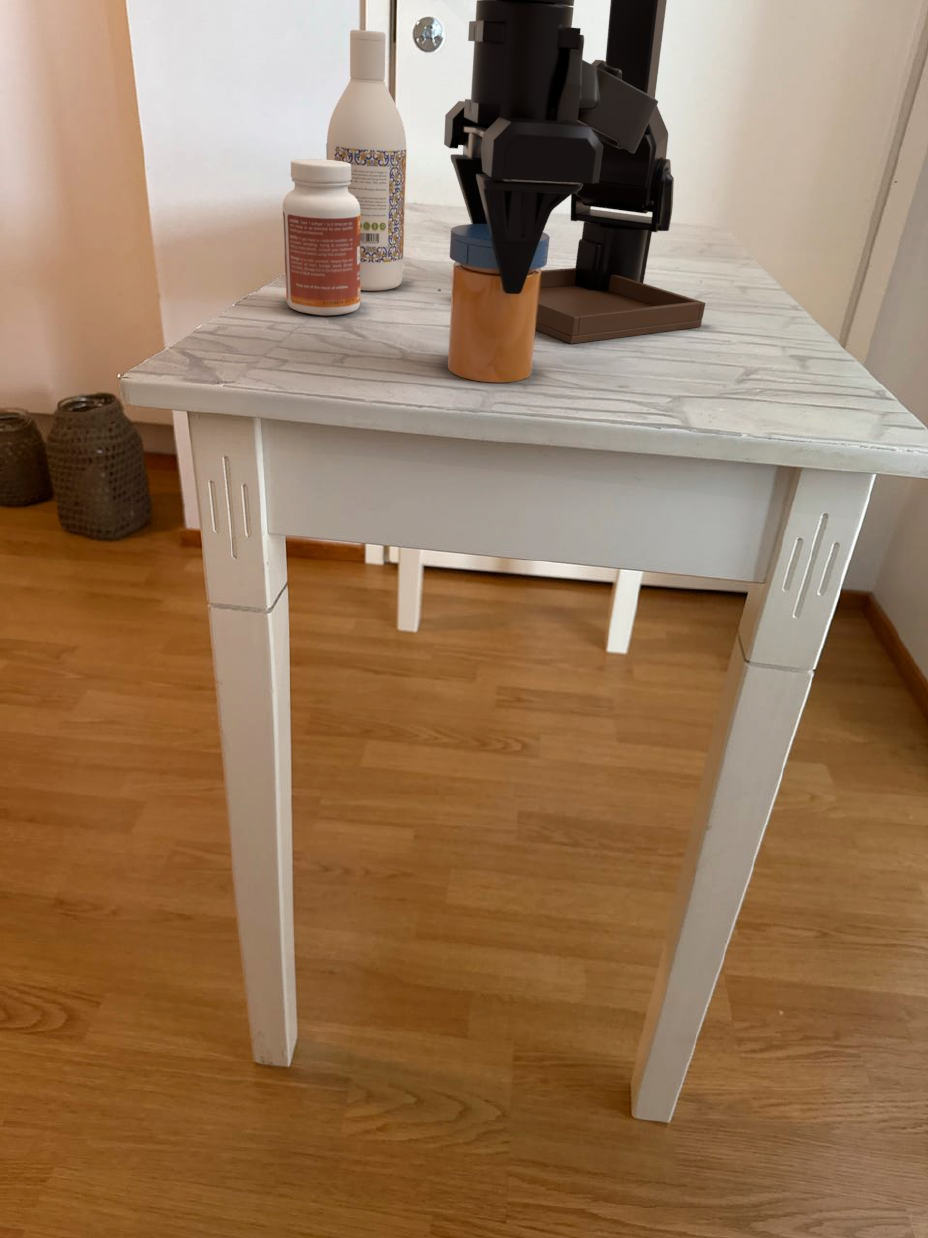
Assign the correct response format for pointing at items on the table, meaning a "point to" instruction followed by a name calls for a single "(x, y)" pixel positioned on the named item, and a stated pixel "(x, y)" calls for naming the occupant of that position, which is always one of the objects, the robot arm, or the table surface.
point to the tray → (610, 309)
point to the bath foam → (372, 160)
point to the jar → (491, 325)
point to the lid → (485, 247)
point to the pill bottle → (322, 239)
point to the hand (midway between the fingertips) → (502, 281)
